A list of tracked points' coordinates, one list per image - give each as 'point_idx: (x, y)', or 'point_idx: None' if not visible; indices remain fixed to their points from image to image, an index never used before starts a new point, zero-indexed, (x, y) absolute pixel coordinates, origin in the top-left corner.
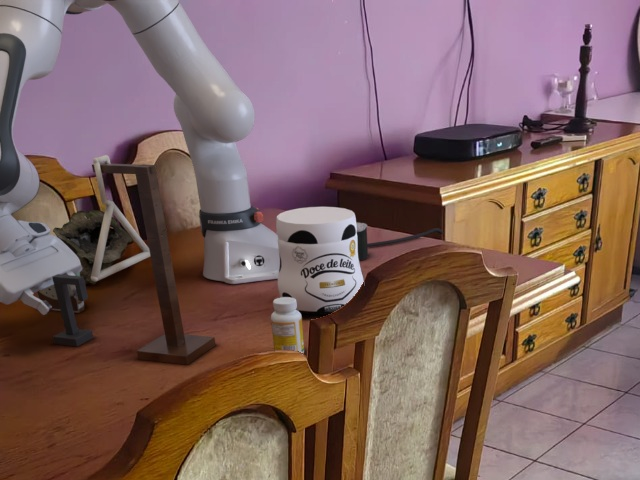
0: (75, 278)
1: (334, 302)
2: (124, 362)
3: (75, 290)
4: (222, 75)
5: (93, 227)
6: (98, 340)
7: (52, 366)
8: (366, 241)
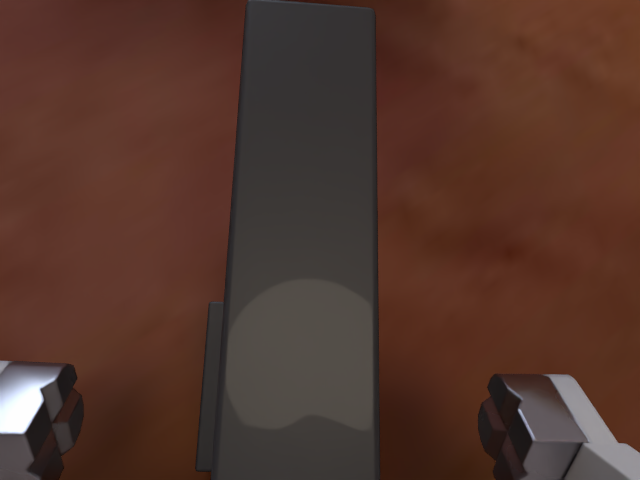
0: (371, 46)
1: None
2: (454, 12)
3: (46, 417)
4: None
5: None
6: None
7: (599, 272)
8: None
